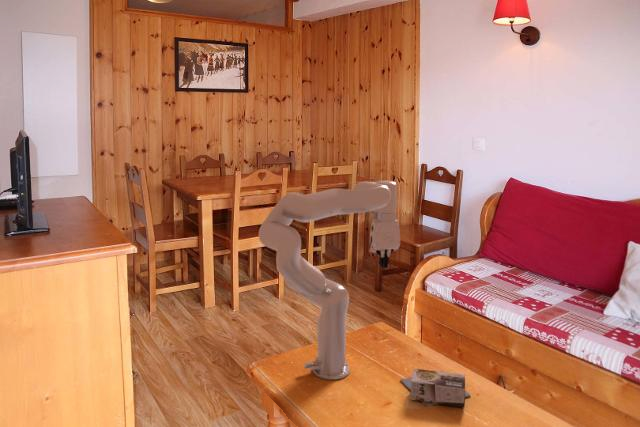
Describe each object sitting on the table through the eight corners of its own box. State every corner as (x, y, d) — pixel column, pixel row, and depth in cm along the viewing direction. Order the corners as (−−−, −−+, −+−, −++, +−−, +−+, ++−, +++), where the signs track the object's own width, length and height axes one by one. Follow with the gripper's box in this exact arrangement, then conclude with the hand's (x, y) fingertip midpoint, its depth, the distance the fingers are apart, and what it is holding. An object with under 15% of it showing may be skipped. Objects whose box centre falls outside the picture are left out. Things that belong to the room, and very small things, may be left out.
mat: (425, 406, 160) (425, 404, 160) (400, 380, 175) (400, 379, 175) (470, 396, 165) (470, 395, 165) (442, 372, 180) (442, 371, 180)
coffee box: (410, 400, 162) (464, 408, 158) (410, 381, 161) (465, 388, 157) (413, 386, 171) (464, 393, 166) (413, 367, 170) (465, 374, 165)
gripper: (370, 220, 178) (369, 272, 181) (409, 217, 183) (407, 267, 186) (360, 215, 185) (360, 266, 188) (399, 212, 190) (397, 262, 193)
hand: (383, 266), depth 187 cm, fingers closed
